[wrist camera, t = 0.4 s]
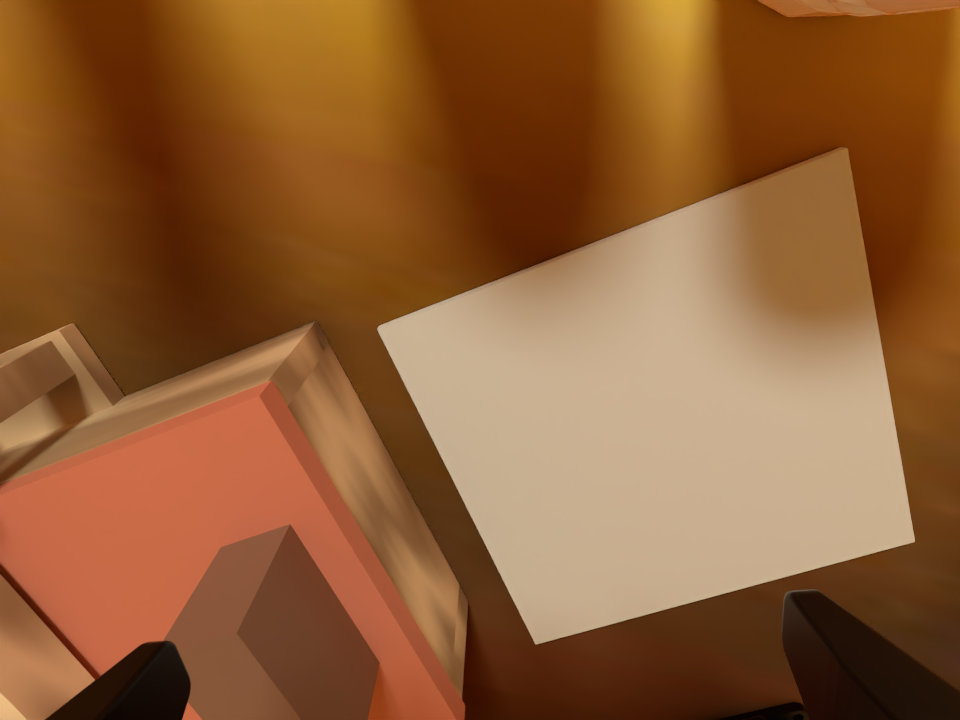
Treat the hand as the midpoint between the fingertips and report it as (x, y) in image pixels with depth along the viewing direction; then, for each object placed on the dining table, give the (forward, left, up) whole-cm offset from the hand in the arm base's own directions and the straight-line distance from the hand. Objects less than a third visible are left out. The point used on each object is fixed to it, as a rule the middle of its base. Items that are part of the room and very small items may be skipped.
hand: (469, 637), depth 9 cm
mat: (-7, -4, -14) cm, 16 cm away
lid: (-5, +13, -9) cm, 16 cm away
